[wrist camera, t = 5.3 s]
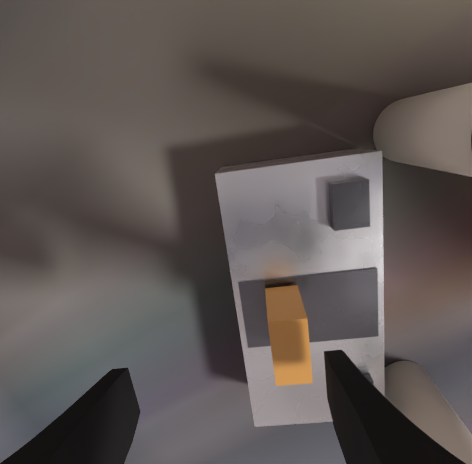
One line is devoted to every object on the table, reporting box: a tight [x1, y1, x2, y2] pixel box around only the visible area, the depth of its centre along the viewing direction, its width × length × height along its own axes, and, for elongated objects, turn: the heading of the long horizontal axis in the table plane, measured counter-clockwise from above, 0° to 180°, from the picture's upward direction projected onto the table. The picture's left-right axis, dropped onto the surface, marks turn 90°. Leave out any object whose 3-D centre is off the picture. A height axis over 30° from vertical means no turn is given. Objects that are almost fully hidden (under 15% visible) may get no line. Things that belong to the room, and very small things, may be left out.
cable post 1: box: [373, 83, 472, 177], centre depth 11 cm, size 3×3×10 cm
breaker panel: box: [215, 148, 385, 427], centre depth 17 cm, size 7×14×4 cm, turn 8°
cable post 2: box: [384, 361, 472, 464], centre depth 15 cm, size 3×3×10 cm
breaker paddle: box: [265, 285, 313, 386], centre depth 14 cm, size 2×3×3 cm, turn 8°
